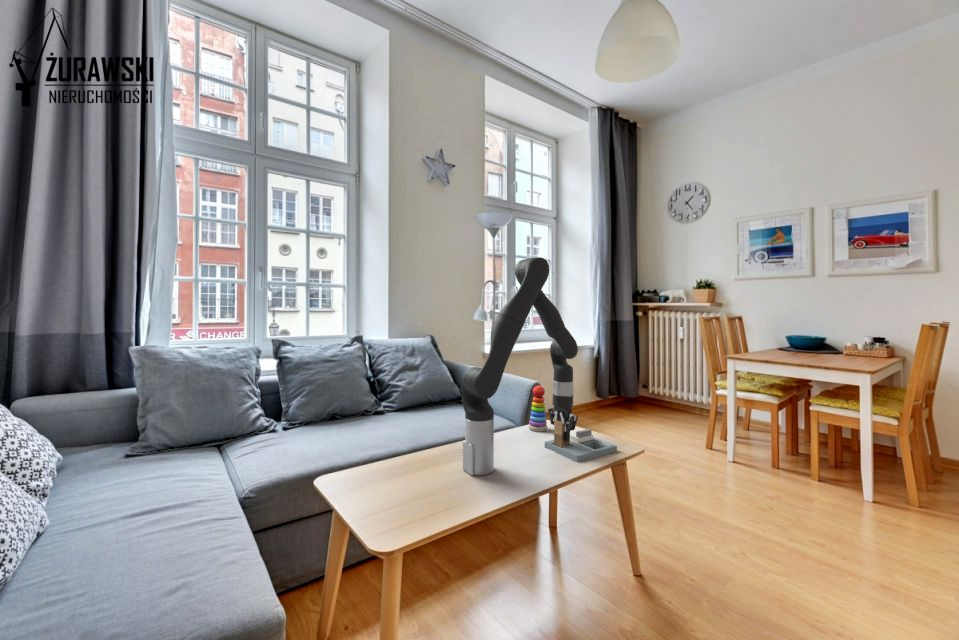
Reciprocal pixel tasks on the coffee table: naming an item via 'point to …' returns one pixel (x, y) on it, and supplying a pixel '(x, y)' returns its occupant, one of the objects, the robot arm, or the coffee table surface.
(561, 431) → the walnut post
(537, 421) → the stacking toy
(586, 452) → the puzzle board
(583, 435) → the lid
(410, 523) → the coffee table surface
